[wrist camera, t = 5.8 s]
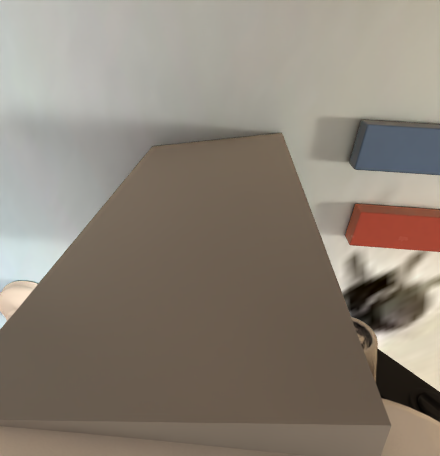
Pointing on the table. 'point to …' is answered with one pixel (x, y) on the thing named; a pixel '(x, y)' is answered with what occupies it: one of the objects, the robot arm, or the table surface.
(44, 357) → the perfume bottle
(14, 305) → the chess piece
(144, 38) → the table surface
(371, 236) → the fork
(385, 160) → the knife
